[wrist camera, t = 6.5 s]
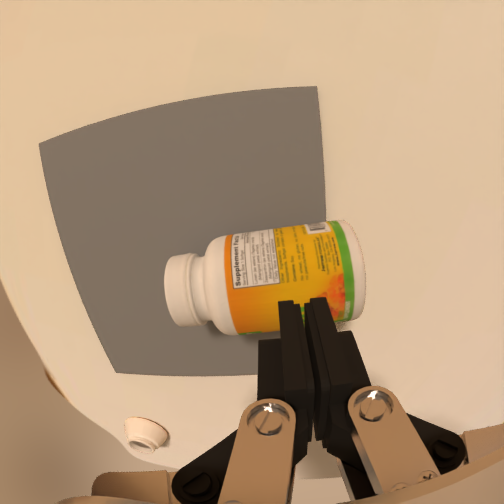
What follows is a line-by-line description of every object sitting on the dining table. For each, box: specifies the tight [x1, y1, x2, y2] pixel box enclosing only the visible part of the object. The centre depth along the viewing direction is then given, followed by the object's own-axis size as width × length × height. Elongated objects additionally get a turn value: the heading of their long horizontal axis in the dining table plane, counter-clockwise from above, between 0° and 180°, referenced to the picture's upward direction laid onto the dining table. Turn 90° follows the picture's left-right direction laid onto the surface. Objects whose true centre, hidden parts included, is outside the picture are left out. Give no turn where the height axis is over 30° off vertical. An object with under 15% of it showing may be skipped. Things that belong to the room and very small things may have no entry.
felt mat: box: [39, 86, 326, 376], centre depth 19 cm, size 18×20×1 cm
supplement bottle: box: [164, 220, 366, 335], centre depth 16 cm, size 5×5×10 cm
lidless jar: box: [124, 417, 167, 454], centre depth 27 cm, size 5×3×5 cm
